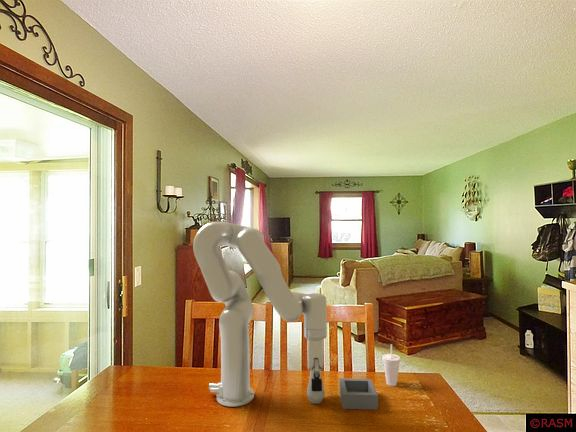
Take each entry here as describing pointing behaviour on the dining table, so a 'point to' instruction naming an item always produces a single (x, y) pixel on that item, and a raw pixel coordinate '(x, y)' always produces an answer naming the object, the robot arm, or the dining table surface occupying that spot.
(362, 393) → the socket holder
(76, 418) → the dining table surface
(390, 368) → the smoothie
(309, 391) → the salt shaker
